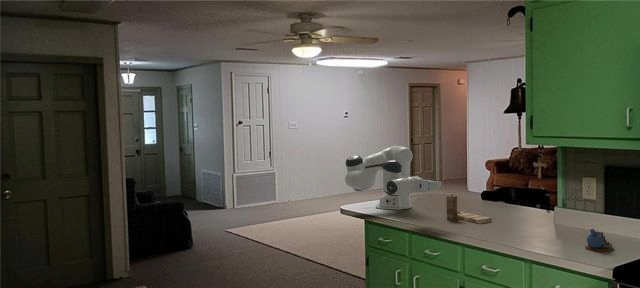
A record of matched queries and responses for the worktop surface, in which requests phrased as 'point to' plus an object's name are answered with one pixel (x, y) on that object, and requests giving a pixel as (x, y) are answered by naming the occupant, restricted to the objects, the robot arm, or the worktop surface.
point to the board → (473, 218)
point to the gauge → (452, 207)
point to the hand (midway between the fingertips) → (434, 182)
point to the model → (598, 242)
